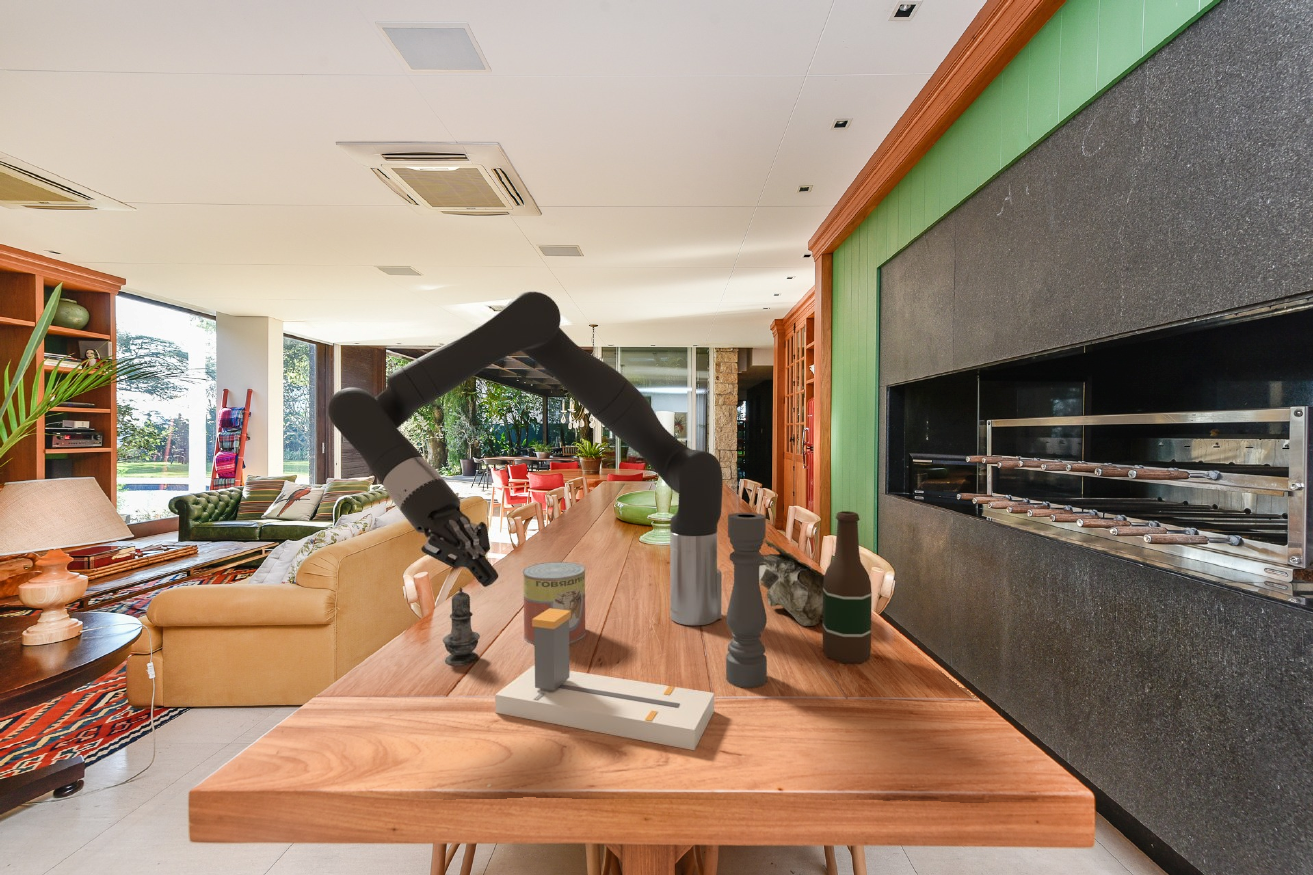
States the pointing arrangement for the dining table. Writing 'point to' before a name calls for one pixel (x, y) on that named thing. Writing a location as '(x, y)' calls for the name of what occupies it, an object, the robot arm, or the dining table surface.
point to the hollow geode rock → (793, 586)
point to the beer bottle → (847, 597)
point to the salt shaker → (461, 632)
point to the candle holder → (746, 602)
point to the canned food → (555, 595)
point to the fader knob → (551, 648)
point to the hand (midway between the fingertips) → (492, 581)
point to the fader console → (612, 707)
